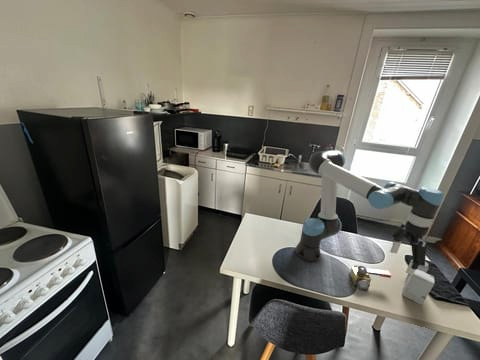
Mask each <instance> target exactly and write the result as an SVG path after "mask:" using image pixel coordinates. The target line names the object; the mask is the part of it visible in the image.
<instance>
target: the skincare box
mask: <svg viewBox="0 0 480 360" xmlns="http://www.w3.org/2000/svg"><path fill="white" fill-rule="evenodd" d="M434 285H435V276H433V275H432V274H428V273H427V272H426V273H425V272H423V271H420V270H418V269H417V270H415V272H414V274H410V275H409V277H408V279H407V281H406V280H405V283H404V285H403V287H402V292H401V296H402V297H405V298H407V299H409V300H411V301H414V302H415V303H417V304H419V305H421V306H422V305H423V304H424V302H425V300H426V298H427V297H428V295H429V293H430V292H431V290H432V288H433V287H434Z"/></svg>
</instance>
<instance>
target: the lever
mask: <svg viewBox="0 0 480 360" xmlns="http://www.w3.org/2000/svg"><path fill="white" fill-rule="evenodd" d="M358 266H359V267H358V269H357V271H358V272H359V273H360V274H362V275H366V274H369V275H372V276H373V275H375V276H379V277H383V278H389V279H390V278H391V277H392V274H391V272H390V271H389V270H384V269H372V268H368V267H365V266H363V265H358Z"/></svg>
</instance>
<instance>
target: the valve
mask: <svg viewBox="0 0 480 360" xmlns="http://www.w3.org/2000/svg"><path fill="white" fill-rule="evenodd" d="M359 266H360V265H353V266H352V267H351V269H350V272H349V273H350V274H349V276H350V279H351V280H352V283H353V285H354V286H357V287H358V288H360V289H359V290H361V291H362V292H367V291H369V289H370V287H371V281H372V278H371V276H370V274H366V275H362V274H360V273H359V272H358V271H357V269H358V267H359Z"/></svg>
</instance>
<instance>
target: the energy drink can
mask: <svg viewBox="0 0 480 360" xmlns="http://www.w3.org/2000/svg"><path fill="white" fill-rule="evenodd" d="M417 269H418V270H420V271H423V272H425V273H427V272H428V270H429V263H428V262H427V261H426V260H425V266H422V265H419V266H418V268H417ZM409 275H410V274H409V273H407V276H406V278H405V282H406V281H407V279H408V277H409Z"/></svg>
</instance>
